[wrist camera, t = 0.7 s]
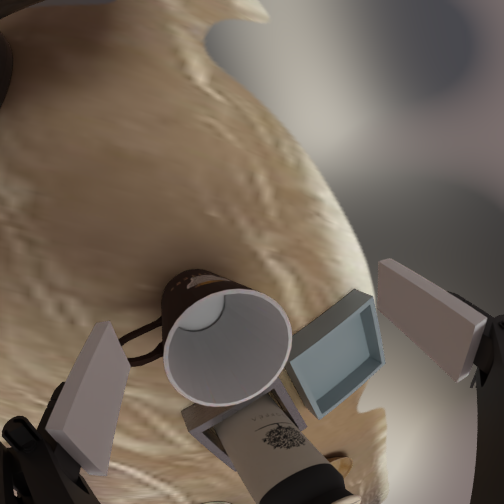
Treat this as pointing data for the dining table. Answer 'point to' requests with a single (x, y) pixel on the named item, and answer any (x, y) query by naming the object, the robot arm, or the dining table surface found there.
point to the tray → (336, 353)
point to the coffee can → (217, 503)
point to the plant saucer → (342, 464)
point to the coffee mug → (218, 339)
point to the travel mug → (279, 458)
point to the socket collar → (208, 416)
